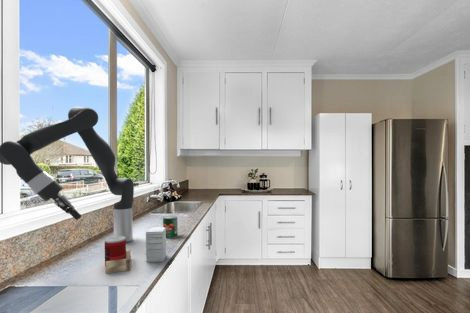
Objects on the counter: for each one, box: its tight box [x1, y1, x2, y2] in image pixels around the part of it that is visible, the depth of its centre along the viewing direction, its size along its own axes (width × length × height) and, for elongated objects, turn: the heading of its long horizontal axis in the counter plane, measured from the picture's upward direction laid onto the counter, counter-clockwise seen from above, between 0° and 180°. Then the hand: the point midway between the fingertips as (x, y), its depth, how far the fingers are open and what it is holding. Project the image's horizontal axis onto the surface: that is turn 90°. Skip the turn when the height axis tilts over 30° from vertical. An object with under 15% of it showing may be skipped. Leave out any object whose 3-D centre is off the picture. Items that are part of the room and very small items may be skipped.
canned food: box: [104, 236, 127, 268], centre depth 111 cm, size 8×8×11 cm
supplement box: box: [145, 226, 167, 263], centre depth 119 cm, size 7×7×13 cm
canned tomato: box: [162, 215, 179, 240], centre depth 154 cm, size 8×8×11 cm
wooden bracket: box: [105, 249, 132, 274], centre depth 112 cm, size 8×13×4 cm, turn 20°
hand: (79, 218), depth 110 cm, fingers closed
